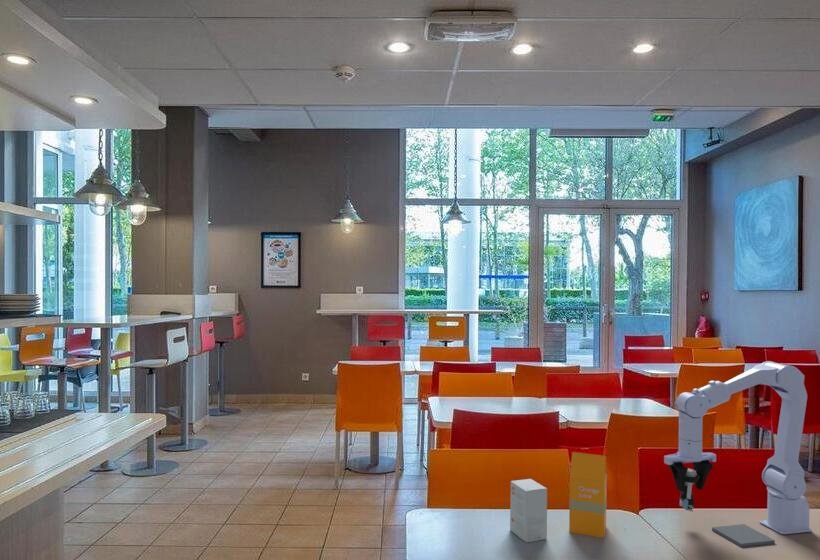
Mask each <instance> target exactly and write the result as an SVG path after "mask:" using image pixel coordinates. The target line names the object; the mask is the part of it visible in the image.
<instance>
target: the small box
mask: <svg viewBox="0 0 820 560" xmlns="http://www.w3.org/2000/svg"><path fill="white" fill-rule="evenodd" d="M509 503H510V504H509V505H510V506H509V507H510V509H509V510H510V511H509V512H510V513H509V514H510V515H509V518H510V519H509V531H511V532H512V533H513V534H514V535H516V536H517V537H518V538H519V539H520V540H522V541H523V542H524V543H532V542H538V541H542V540H543V541H544V540H546V539H548V488H547V487H546V486H543V485H542V484H541V483H539V482H537V481H535V480H534V479H532V478H526V479H517V480H511V481H510V502H509Z"/></svg>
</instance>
